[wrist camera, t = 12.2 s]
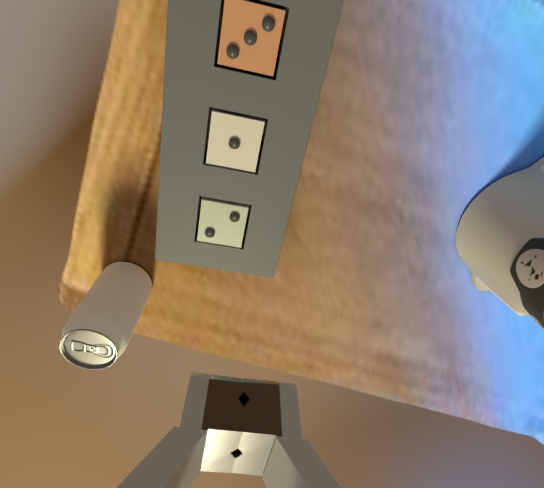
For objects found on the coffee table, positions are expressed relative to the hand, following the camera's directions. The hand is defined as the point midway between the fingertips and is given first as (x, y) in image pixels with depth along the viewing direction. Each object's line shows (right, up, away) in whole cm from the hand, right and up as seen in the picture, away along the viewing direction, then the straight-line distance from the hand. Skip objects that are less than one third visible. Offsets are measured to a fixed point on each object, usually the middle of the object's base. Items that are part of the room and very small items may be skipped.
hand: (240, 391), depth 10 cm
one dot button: (-3, +16, +27) cm, 31 cm away
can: (-18, 0, +36) cm, 40 cm away
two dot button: (-5, +8, +31) cm, 32 cm away
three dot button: (-1, +23, +22) cm, 32 cm away
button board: (-3, +16, +27) cm, 31 cm away
